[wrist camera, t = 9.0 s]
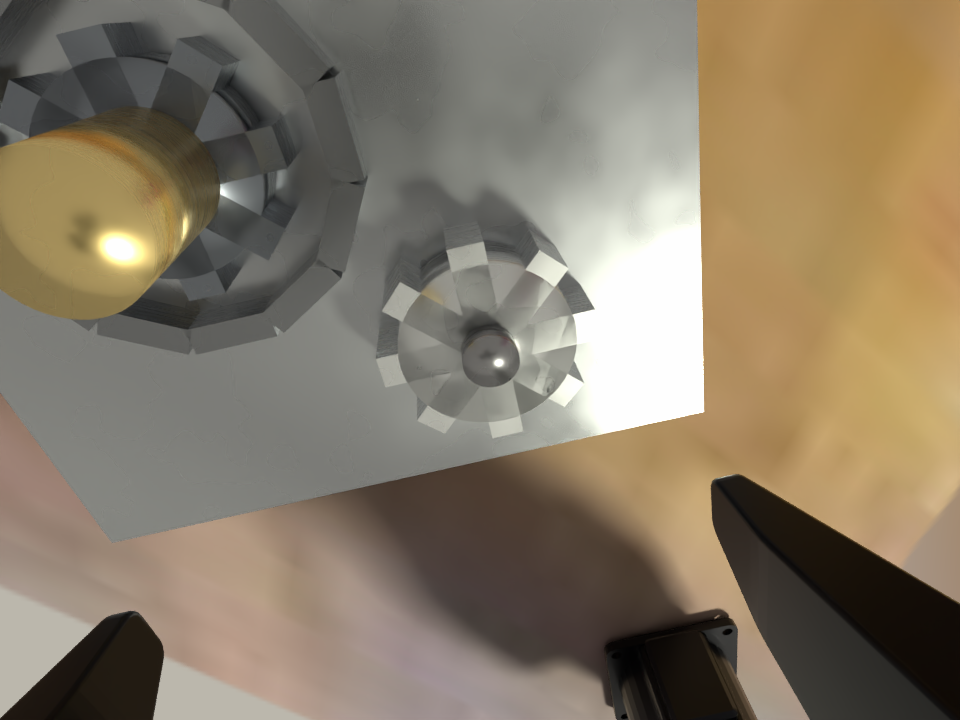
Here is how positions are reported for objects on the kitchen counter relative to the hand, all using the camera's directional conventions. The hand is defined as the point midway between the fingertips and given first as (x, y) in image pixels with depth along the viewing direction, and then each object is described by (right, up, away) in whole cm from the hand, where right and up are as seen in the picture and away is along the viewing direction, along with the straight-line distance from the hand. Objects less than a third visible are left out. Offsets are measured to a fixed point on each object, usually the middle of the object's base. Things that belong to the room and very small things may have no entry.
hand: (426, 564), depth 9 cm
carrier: (-4, +8, +9) cm, 12 cm away
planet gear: (-7, +8, +7) cm, 13 cm away
